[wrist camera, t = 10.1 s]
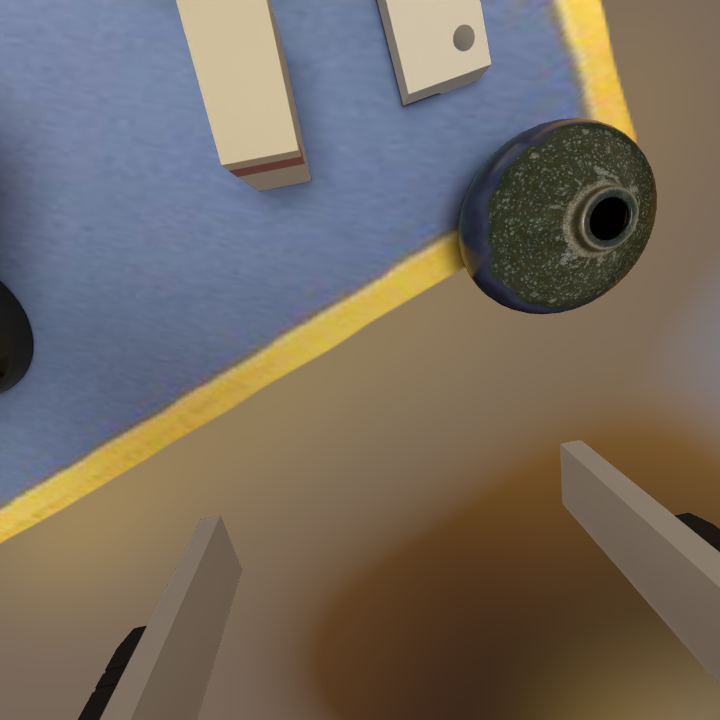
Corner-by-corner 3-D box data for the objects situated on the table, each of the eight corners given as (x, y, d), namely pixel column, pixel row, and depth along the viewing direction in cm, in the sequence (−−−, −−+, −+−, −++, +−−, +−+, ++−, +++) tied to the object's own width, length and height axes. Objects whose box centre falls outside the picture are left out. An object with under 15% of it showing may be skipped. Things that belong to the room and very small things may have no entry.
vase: (598, 276, 39) (724, 292, 26) (461, 321, 40) (519, 358, 27) (581, 118, 34) (725, 44, 22) (425, 172, 35) (476, 131, 22)
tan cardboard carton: (259, 191, 34) (220, 165, 23) (227, 67, 31) (165, -35, 20) (311, 181, 34) (299, 149, 23) (285, 55, 31) (256, -52, 20)
